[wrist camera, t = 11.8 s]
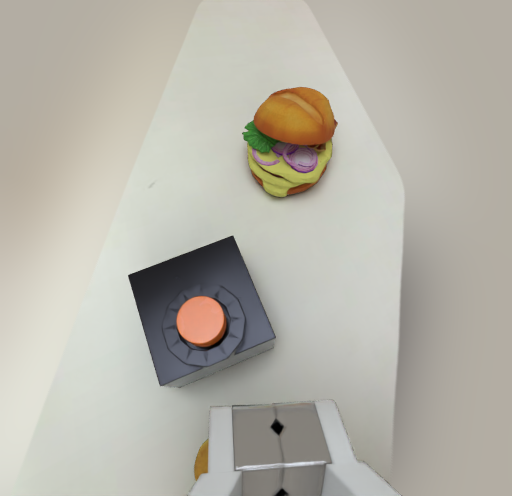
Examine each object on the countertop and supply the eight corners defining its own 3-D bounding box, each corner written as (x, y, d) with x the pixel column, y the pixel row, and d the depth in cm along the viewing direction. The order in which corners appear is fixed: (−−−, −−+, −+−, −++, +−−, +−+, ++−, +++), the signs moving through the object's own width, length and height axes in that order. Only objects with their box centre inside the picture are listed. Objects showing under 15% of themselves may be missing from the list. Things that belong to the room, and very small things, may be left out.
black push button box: (274, 350, 37) (277, 337, 29) (180, 390, 36) (154, 389, 28) (238, 261, 41) (231, 226, 32) (150, 295, 39) (120, 268, 31)
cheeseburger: (230, 188, 44) (229, 115, 36) (260, 135, 50) (265, 62, 42) (312, 213, 42) (331, 143, 34) (333, 155, 48) (354, 83, 40)
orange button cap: (233, 336, 29) (231, 332, 27) (190, 354, 29) (184, 351, 27) (217, 295, 30) (214, 288, 29) (176, 311, 30) (170, 306, 28)
